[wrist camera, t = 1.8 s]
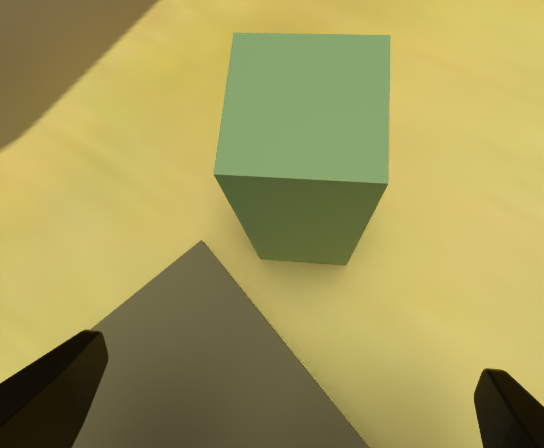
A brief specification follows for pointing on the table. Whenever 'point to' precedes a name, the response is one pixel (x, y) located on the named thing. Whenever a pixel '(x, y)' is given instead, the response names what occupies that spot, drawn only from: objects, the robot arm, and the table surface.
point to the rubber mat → (204, 372)
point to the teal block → (305, 141)
